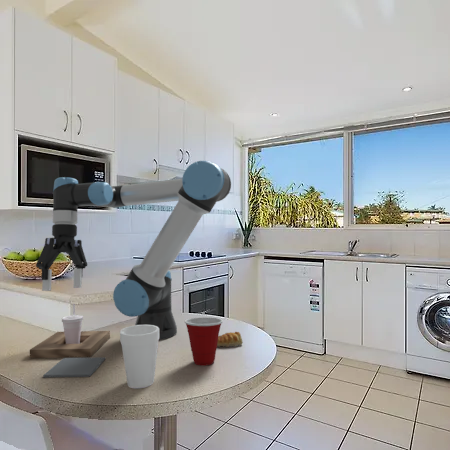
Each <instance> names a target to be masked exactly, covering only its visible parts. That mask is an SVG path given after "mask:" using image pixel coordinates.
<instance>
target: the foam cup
mask: <svg viewBox="0 0 450 450" xmlns="http://www.w3.org/2000/svg"><path fill="white" fill-rule="evenodd" d="M159 340H160V339H159V328H158V327H157V326H154V325H135V324H134V325H129V326H126V327H123V328H121V329H120V330H119V341H120V344H121V350H122V357H123V363H124V370H125V377H126V382H127V386H128V387H129V388H131V389H143V388H148V387H150V386H151V385H153V384H154V382H155V375H156V374H155V373H156V367H157V366H156V365H157V355H158V347H159Z"/></svg>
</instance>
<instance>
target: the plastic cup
mask: <svg viewBox="0 0 450 450" xmlns="http://www.w3.org/2000/svg"><path fill="white" fill-rule="evenodd" d="M223 321H224V320H223V319H222V318H217V317H211V316H210V317H207V316H206V317H205V316H204V317H203V316H202V317H191V318H187V319H185V320H184V323H185V325H186V329H187V332H188V333H187V334H188V338H189V344H190V351H191V355H192V358H193V359H192V360H193V362H194V364H195V365H196V366H201V367H202V366H204V367H205V366H210V365H213V364H214V363H215V360H216V353H217V348H218V347H217V342H218V336H220V330H221V326H222V324H223Z"/></svg>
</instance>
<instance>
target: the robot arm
mask: <svg viewBox="0 0 450 450" xmlns="http://www.w3.org/2000/svg"><path fill="white" fill-rule="evenodd" d="M231 189H232V180H231V177H230V174H228V172H227V171H226V170H224V169H223V168H221V167H220V166H219V165H218V164H217V163H215V162H212V161H209V160H198V161H195V162H193V163H191V164H190V165H189V166H187V167H186V169H185V170H184V172H183V175H182V178H176V179H175V178H174V179H167V180H157V181H149V182H140V183H131V184H124V185H122V184H121V185H114V186H112V185H110V183H108V182H106V181H95V182H85V183H79V180H77V179H76V178H74V177H66V176H64V177H63V176H62V177H57V178H56V179H54V183H53V190H52V192H53V194H52V195H53V197H52V198H53V200H52V201H53V208H52V223H53V225H52V226H51V228H52V229H51V235H52V237H46V238H45V241H44V245H43V247H42V250H41V252H40V255H39V257H38V259H37V262H36V264H35V267H36V268H38V269H39V270H41V278H40V279H41V280H42V283H41V284H42V285H41V286H42V288H41V289H42V290H41V291H42V292H44V291H45V292H47V291H49V292H51V291H52V278H53V277H52V276H53V275H52V273H53V272H52V271H53V269H51V267H52V265H53V264H54V263H55V261H56V260H57V258H58V256H59V255H60V254H62V253H65V254H67V255H68V257H69V258H70V259H71V262H72V263H73V265H74V266H75V268H73V288H74V289H77V288H78V289H80V288H81V289H82V286H83V285H82V280H83V270H84V269H86V267H88V262H87V259H86V255H85V253H84V250H83V246H82V242H83V241H82V240H81V239H75V237H77V234H78V226H77V224H78V207H91V206H93V207H106V208H107V207H108V208H114V209H118V208H122V207H130V206H137V205H149V204H159V203H168V202H169V203H170V202H177V203H176V204H175V206H174V208H173V210H172V211H171V213H170V215H169V216H168V218H167V220H166V221H165V223H164V224H163V226H162V228H161V229H160V232H158V234H157V236H156V238H155V239H154V241H153V243H152V244H151V245H150V247H149V249H148V251H147V253H146V254H145V256H144V257H143V260H142V261H141V262H140V264H136V265H134V266H133V267H132V268H131V270H130V272H129V273H128V275H127V276H126V278H125V279H122V280H121V281H120V282H119V283H118V284H117V285H116V286H115V288H114V289H113V293H112V298H113V302H114V305H115V308H116V309H117V310H118V311H119V313H121V314H122V315H124V316H126V317H131V318H134V317H136V319H135V320H136V321H135V324H134V326H135V325H154V326H157V327H158V328H159V340H165V339H169V338H172V337H174V336H175V335H176V334H177V333H178V330H177V329H178V328H177V327H178V325H177V323H176V321H175V318H174V317H175V316H174V314H173V312H172V274H171V271H170V270H171V267H172V266H173V264H174V262H175V261H176V259H177V257H178V256H179V254H180V253H181V251H182V249H183V248H184V246H185V244H186V243H187V241H188V240H189V237H190V236H191V235H192V233H193V232H194V229H195V228H196V227H197V225H198V223H199V222H200V220H201V218H202V217H203V215H207V214H210V213H211V212H212V210H213V209H214V207H215V205H216V204H217V202H221V201H224V199H225V198H226V197H228V195H229V193H230V191H231Z"/></svg>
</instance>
